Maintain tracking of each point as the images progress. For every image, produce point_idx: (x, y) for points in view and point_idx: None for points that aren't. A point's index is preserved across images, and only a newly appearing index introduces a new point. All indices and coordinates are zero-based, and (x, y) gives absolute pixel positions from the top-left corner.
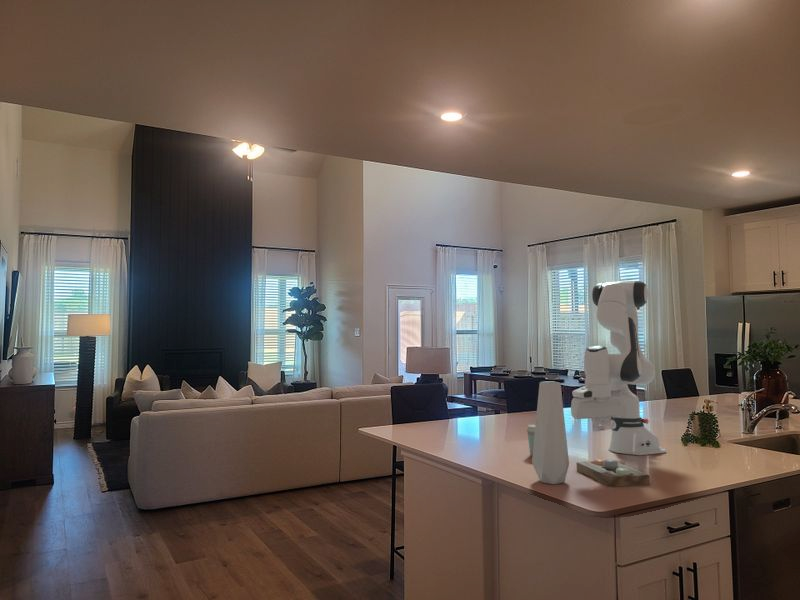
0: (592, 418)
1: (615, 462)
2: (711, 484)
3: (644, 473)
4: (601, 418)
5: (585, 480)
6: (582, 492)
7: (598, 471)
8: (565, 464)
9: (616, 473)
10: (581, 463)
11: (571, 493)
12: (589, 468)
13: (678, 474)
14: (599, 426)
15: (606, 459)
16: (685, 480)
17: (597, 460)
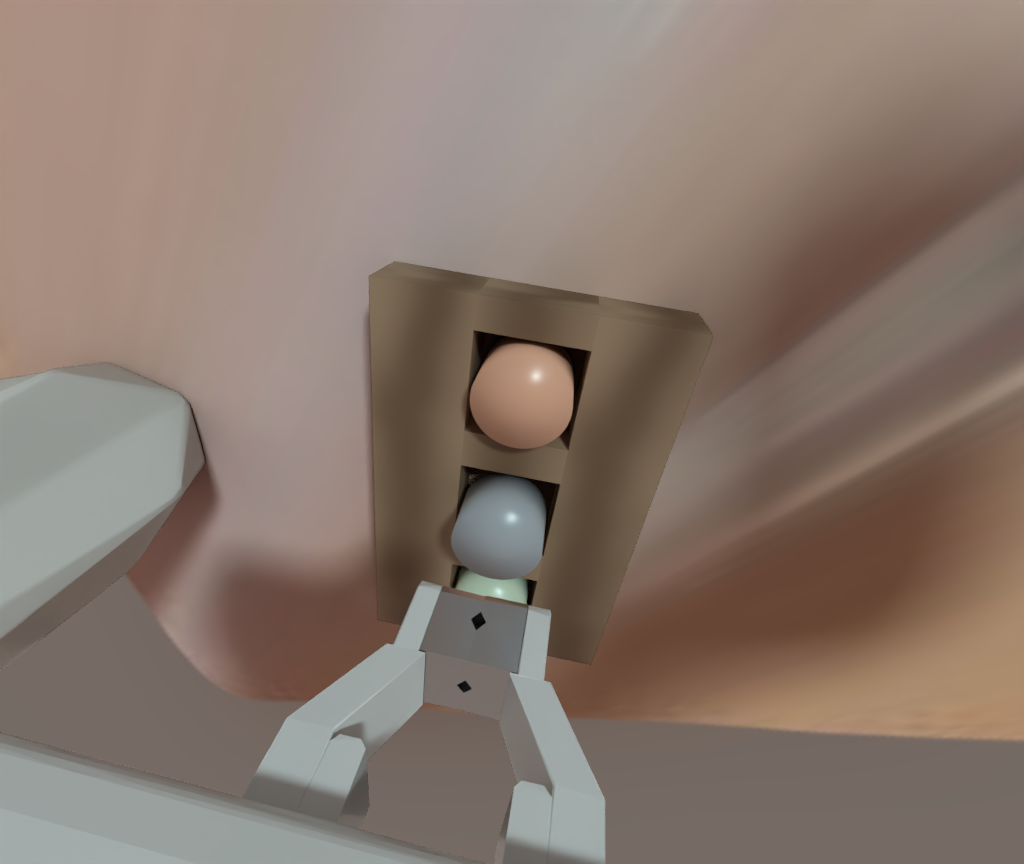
0: (264, 792)
1: (497, 578)
2: (843, 716)
3: (590, 643)
4: (504, 828)
5: (331, 472)
6: (239, 585)
7: (379, 534)
8: (111, 581)
9: (455, 587)
10: (382, 337)
11: (192, 578)
12: (374, 453)
13: (933, 584)
14: (437, 688)
15: (492, 511)
16: (816, 651)
17: (498, 398)
